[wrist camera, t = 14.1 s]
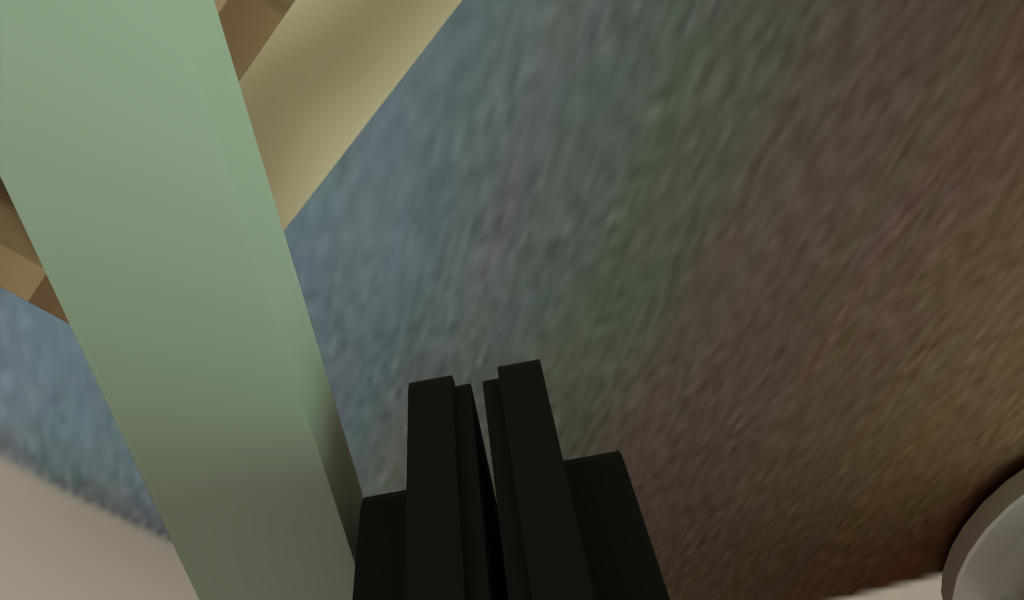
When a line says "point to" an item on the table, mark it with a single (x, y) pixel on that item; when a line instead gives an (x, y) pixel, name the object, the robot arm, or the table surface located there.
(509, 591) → the robot arm
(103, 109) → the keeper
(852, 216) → the table surface
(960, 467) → the table surface
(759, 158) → the table surface
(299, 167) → the pintle board
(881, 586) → the table surface
